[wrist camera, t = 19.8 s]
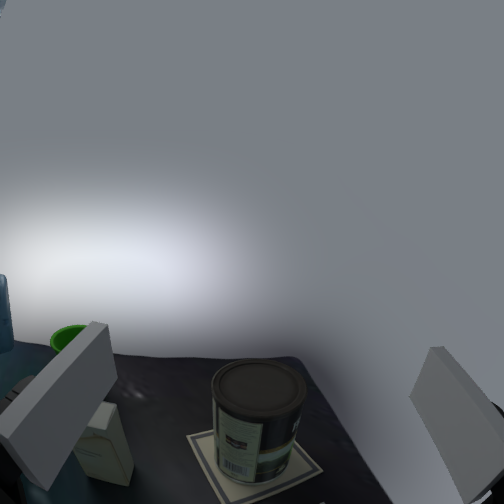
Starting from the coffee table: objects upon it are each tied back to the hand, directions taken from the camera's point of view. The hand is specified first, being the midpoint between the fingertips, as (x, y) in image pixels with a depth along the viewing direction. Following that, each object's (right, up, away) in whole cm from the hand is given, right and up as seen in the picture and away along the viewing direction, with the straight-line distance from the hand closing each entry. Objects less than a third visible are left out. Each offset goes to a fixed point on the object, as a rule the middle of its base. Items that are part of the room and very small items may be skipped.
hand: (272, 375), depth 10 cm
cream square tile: (-1, -23, +22) cm, 32 cm away
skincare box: (-19, -24, +16) cm, 34 cm away
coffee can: (-1, -23, +22) cm, 32 cm away
